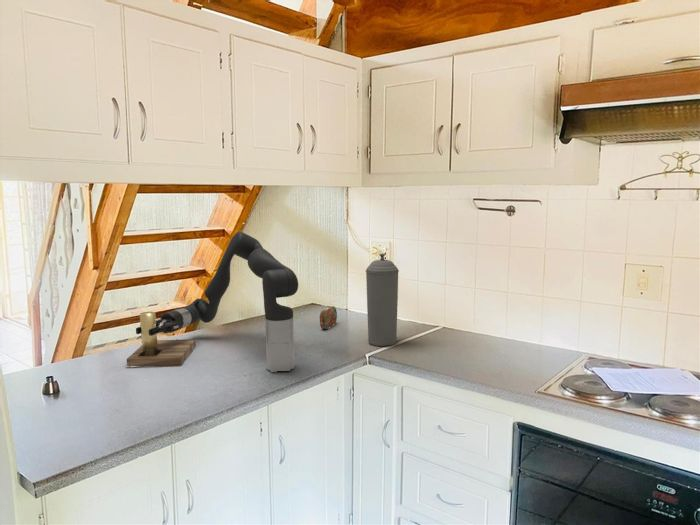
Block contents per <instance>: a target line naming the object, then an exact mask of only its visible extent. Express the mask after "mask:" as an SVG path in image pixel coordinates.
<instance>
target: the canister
mask: <svg viewBox="0 0 700 525" xmlns="http://www.w3.org/2000/svg"><path fill="white" fill-rule="evenodd" d="M378 255H379V256H380V259H376V260H373V261H372V262H370V264H369V265H368V266H367V267H366V270H365V273H366V274H365V275H366V278H365V280H366V306H367V307H366V310H367V311H366V312H367V335H368V336H367V338H368V339H367V340H368V343H370V345H372V346H379V347H388V346H392V345H395V344H396V343H397V333H398V332H397V331H398V300H399V299H398V298H399V295H398V294H399V272H400V270H399V268H398V266H397V265H395V263H394V262H393V261H391V260H389V259H385V256H386V255H387V254H386V253H379V254H378Z"/></svg>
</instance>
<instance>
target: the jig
mask: <svg viewBox="0 0 700 525" xmlns="http://www.w3.org/2000/svg"><path fill="white" fill-rule="evenodd" d="M157 345H158V355H156V356H143V351H142V345H140V346H139V347H138V348H137V349H136V350H135V351H134V352H133V353H132V354H130V355H129V356H128V357H127V358H126V367H127V366H160V367H180V366H179V365H182V366H183V364H184V363H185V362H184V361H187V359H188V358H189V356H190V355H191V353H192V352H193V351H194V350H195V348H196V345H197V344H196V338H194V339H193V338H190V339H188V338H187V339H186V338H185V339H162V340H161V339H159V340H158V339H157Z"/></svg>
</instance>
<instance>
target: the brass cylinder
mask: <svg viewBox="0 0 700 525" xmlns="http://www.w3.org/2000/svg"><path fill="white" fill-rule="evenodd" d="M156 318H157V317H156V312H155V311H142V312H140V313H139V321H140V324H141V334H140V335H141V346H142V351H143V356H156V355H158V345H157V340H158V335H157V334H158V333H157V334H155V335H152V336H150V335H149V329H152V328H154V327H156V320H157V319H156ZM140 324H139V325H140Z"/></svg>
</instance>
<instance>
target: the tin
mask: <svg viewBox="0 0 700 525" xmlns="http://www.w3.org/2000/svg"><path fill="white" fill-rule="evenodd" d="M336 308H337V307H335V306H327V307H326V308H324V309H322V310H321V311H320V314H319V325H320V326H319V327H320V328H321V329H322V330H329V329H328V328H329V327H331V326H332V325H333V324H335V325H336V323H337V319H338V314H337V309H336ZM332 327H333V326H332ZM332 327H331V328H332Z"/></svg>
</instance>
